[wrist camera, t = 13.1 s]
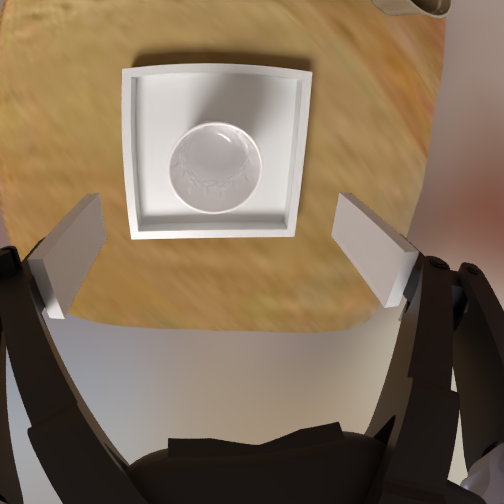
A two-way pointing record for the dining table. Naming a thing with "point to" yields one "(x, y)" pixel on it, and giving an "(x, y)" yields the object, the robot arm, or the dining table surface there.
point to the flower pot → (415, 7)
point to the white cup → (215, 167)
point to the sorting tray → (204, 109)
